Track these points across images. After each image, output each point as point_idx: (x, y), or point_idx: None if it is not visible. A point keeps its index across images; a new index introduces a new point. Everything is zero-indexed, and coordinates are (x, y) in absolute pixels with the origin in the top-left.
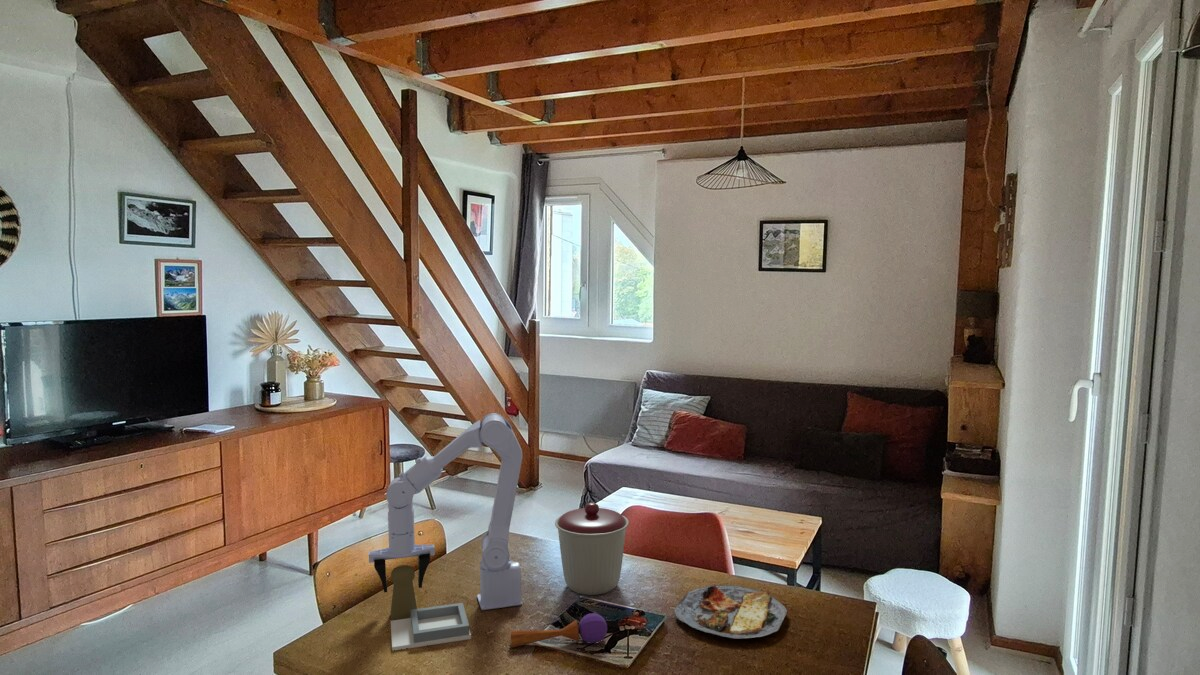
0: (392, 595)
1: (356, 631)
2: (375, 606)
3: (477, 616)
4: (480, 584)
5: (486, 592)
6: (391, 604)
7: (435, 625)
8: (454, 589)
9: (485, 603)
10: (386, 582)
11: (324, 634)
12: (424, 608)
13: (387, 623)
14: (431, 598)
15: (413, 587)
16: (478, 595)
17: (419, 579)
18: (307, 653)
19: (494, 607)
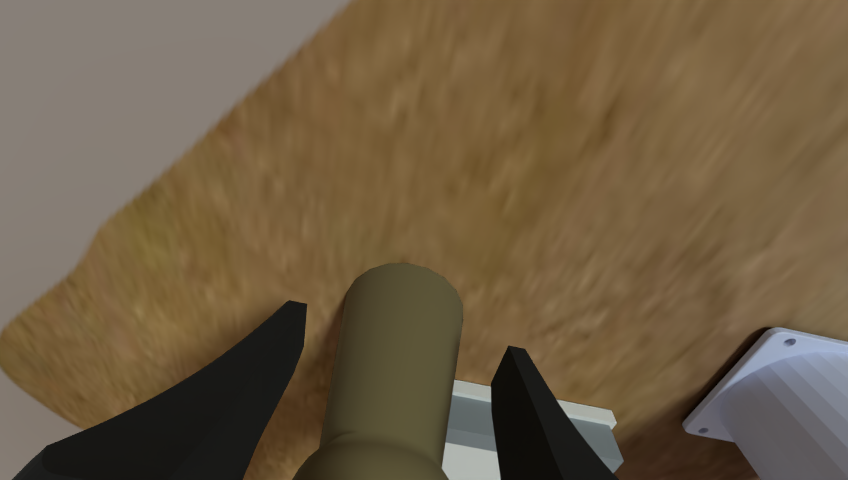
0: (332, 374)
1: (209, 343)
2: (286, 170)
3: (637, 439)
4: (797, 462)
5: (761, 478)
6: (340, 330)
7: (473, 455)
8: (757, 187)
9: (723, 422)
10: (280, 377)
11: (86, 310)
12: (463, 433)
13: (326, 344)
14: (582, 229)
15: (447, 426)
16: (772, 344)
17: (498, 448)
18: (68, 388)
19: (729, 439)
